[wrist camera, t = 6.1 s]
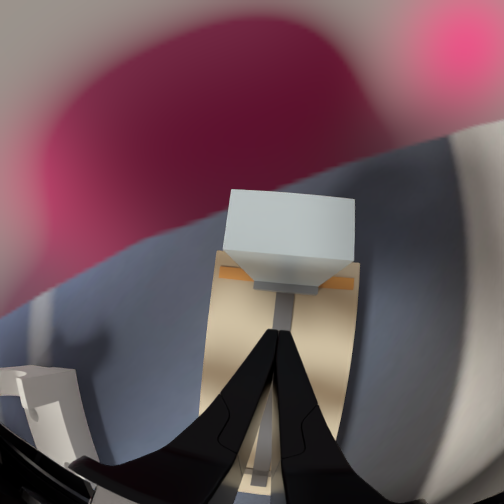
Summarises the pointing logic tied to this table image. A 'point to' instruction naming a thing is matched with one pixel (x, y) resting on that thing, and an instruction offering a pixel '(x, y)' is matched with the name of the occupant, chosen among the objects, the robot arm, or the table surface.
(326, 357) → the slider board
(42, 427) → the bracket
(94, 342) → the table surface
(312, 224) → the fader tab
